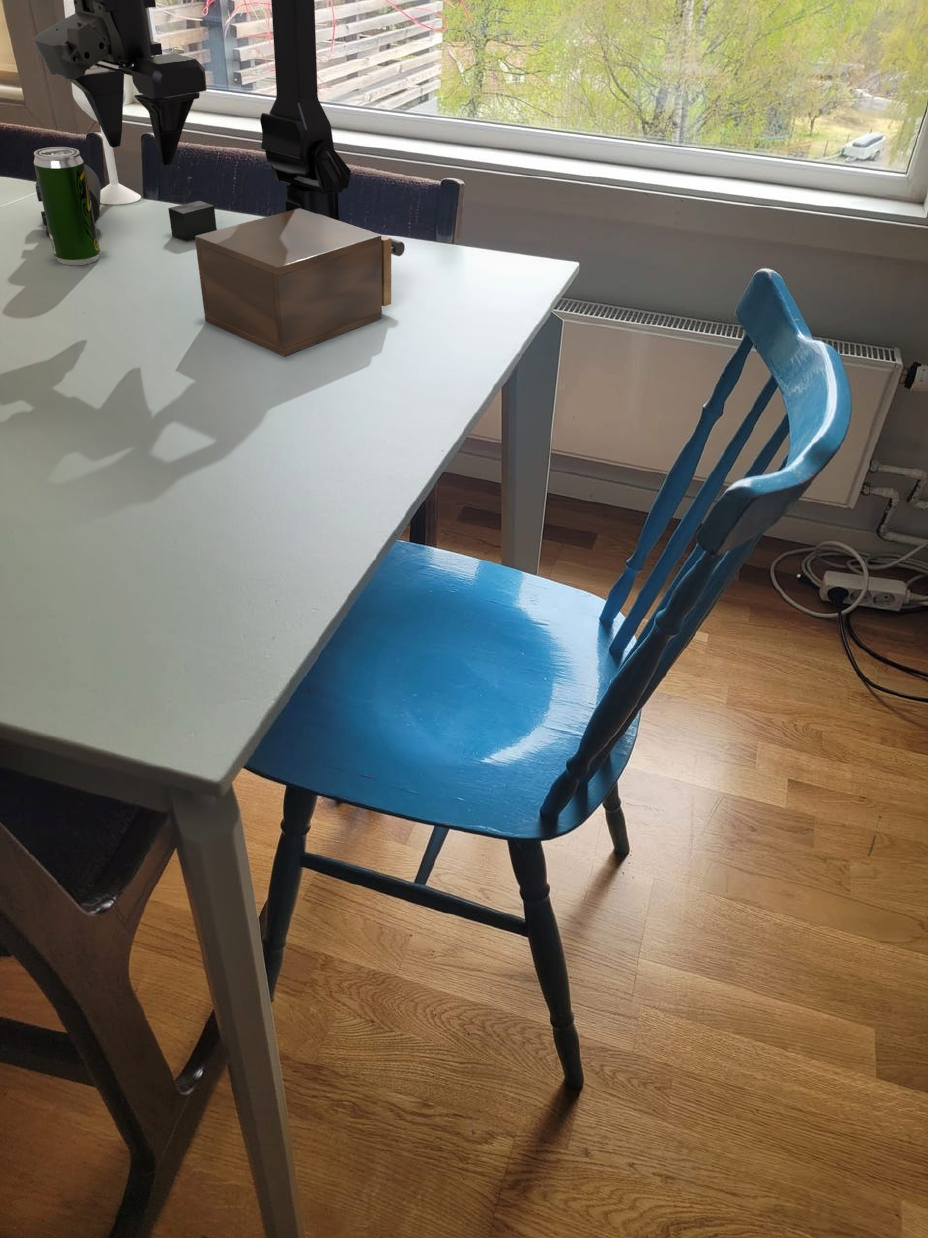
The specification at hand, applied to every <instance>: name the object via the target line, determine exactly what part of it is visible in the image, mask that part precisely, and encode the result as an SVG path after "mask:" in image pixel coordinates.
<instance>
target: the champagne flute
mask: <svg viewBox="0 0 928 1238" xmlns="http://www.w3.org/2000/svg"><path fill="white" fill-rule="evenodd" d="M63 9H64V18H67V17H69V16H71V15H73V14H75V7H74V1H73V0H63ZM71 91H72V97H73V99H74V101H75V103H76V104H77V105H78V107H79V108H80V109H81V110H82V111H83V112H84V113H85V114H86V115H88V116H89V117H90V118H91V119H92V120H94V121H96V122H98V120H97V118H96V116H95V113H94V112H93V109H92V107H91V105H90V104H89V102H88V100H87V98H86V96H85V94H84V93H83V91H82V90H81V89H80V88H78V87H77V86H76V85H74V84H73V83H72V82H71ZM126 96H127V95H126V91H125V89H124V93H123V105H124V104H125V101H126ZM98 123H99V122H98ZM99 128H100V133H101V139H102V140H101V141H102V145H103V146H102V147H103V152H104V157H105V163H106V169H107V175H108V179H109V180H108V181H109V183H108V184H107V185H106V186H105V187H103V188H101V194H100V204H103V205H112V206H115V205H126V204H132V203H135V202H138V201H140V200H141V198H142V195H141V194H139V193H137V192H136V191H134V190H132V189H130V188H128V187H126V186H124V185H123V184H121V183H119V178H118V170H117V165H116V159H115V153H114V148H113V147H111V146H110V145H109V143H108V141H107V139H106V137H105V135H104V133H103V131H102V128H101V126H100V125H99Z"/></svg>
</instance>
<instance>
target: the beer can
mask: <svg viewBox="0 0 928 1238" xmlns="http://www.w3.org/2000/svg"><path fill="white" fill-rule="evenodd" d="M33 155H34V160H33V165H34V170H35V175H36V181H37V180H38V184H39V189H40V194H41V198H42V207H43V211H44V212H45V216H46V221H47V226H48V230H49V235H50V237H49V239H50V244H51V249H52V253H53V256H54V258H55V259H56V260H57V262H58V263H60V264H62V265H66V266H84V265H85V266H86V265H90V264H93V263H95V262H97V261H98V260H99V258H100V256H101V255H100V254H101V247H100V243H99V242H100V241H99V237H98V231H97V227H96V223H95V221H94V215H93V210H92V205H91V199H90V194H89V189H88V183H87V178H86V173H85V167H84V164H85V162H84V159H83V158H82V157H81V153H80V151H79V149H77V148H73V147H67V146H51V147H44V148H43V147H42V148H39V149H37V150H35V151H34V152H33Z"/></svg>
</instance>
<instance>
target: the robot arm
mask: <svg viewBox="0 0 928 1238" xmlns="http://www.w3.org/2000/svg"><path fill="white" fill-rule="evenodd" d="M73 1H74V7H75V14H73V15H71V16H69V17H67V18H65V17H64V18H62V19H60V20H59V21H57V22H55V23H54V24H52V25H51V26H49V27H47V28H46V29H44V30H42V31H41V32H40V33H38V34H36V35H35V36H34V37H33V42H34V44H35V46H36V48H37V50H38V53H39V54H40V56H41V58H42V59H43V61H44V63H45V66H46V68H47V69H48V71H49V73H50V74H51V75H54V76H55V75H60V76H62V78H64V79H65V80H68V81H69V82H71V84H72V83H73V84H74V85H76V86H77V87H78V88H80V89H81V90H82V91H83V93H84V94H85V96H86V98H87V100H88V102H89V104H90V105H91V107H92V109H93V112H94V113H95V116H96V118H97V120H98V125H99V127H100V126H101V128H102V131H103V133H104V135H105V137H106V139H107V141H108V143H109V145H110V146H111V147H113V149H114V148H118V147H120V146H121V144H122V136H123V135H122V134H123V117H124V116H123V113H124V104H123V93H124V90H125V75H127V76H131V79H132V83H133V85H134V87H135V88H136V90H137V92H138V93H139V94H134V98H135V99H136V100H137V102H138V103H139V104H141V105H142V106H143V108H145V109H146V111H147V112H148V115H149V120H150V123H151V124H150V125H151V128H152V129H151V130H152V132H153V138H154V142H155V146H156V150H157V154H158V157H159V160H160V163H161V165H163V166H169V165H172V164H173V163H174V159H175V155H176V152H177V150H178V146H179V143H180V139H181V136H182V132H183V130H184V127H185V123H186V121H187V118H188V117H189V113H190V111H191V110H192V106H193V104H194V101H195V100H198V99H200V93H202V92H207V90H208V87H207V86H208V85H207V77H206V76H207V75H206V68H205V67H204V66H203V64H201V62H199V61H198V60H197V58H194V57H190V56H186V55H182V54H178V53H167V54H163V48H162V43H161V42H158V41H153V40H152V38H153V37H152V32H151V26H150V25H151V24H150V17H149V12H148V11H149V10H148V9H152V8H156V7H157V5H156V0H73ZM315 2H316V1H315V0H270V4H271V5H270V6H271V20H272V36H273V37H272V39H273V40H272V41H273V54H274V68H275V69H274V71H275V72H274V73H275V89H276V90H275V91H276V93H275V94H276V97H275V100H274V101H273V104H272V106H271V108H270V110H269V113H268V112H261V114H260V118H259V119H260V120H259V121H260V127H261V133H262V134H261V135H262V136H261V139H262V140H261V143H260V144H261V145H260V146H261V147H260V148H261V149H262V150H264V153H265V158H266V160H267V162H268V164H269V165H270V166H271V169H272V172H273V174H274V178H275V180H276V182H279V183H284V184H287V185H286V186H285V187H286V199H285V212H287V211H291V210H295V209H299V208H301V209H304V210H307V211H310V212H313V213H316V214H320V215H323V216H326V217H329V218H332V219H335V220H338V221H340V215H339V214H340V213H339V212H340V211H339V193H342V192H343V190H345V189H347V188H349V184H350V179H351V173H352V171H351V169H350V168H349V166H348V165H347V164H346V163H345V161H344V160H343V159H342V157H341V156H340V155H339V153H338V152H337V151H336V150H335V146H334V138H333V131H332V125H331V122H330V120H329V118H328V116H327V114H326V112H325V110H324V108H323V106H322V104H321V102H320V100H319V94H318V68H317V65H318V63H317V61H318V60H317V35H316V34H317V33H316V6H315V5H316V3H315ZM101 128H100V129H101ZM288 184H289V185H288Z"/></svg>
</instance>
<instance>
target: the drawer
mask: <svg viewBox="0 0 928 1238" xmlns="http://www.w3.org/2000/svg"><path fill="white" fill-rule="evenodd" d="M319 215H320V214H319ZM322 216H323V215H322ZM325 217H326V216H325ZM328 218H329V217H328ZM331 219H332V218H331ZM334 220H335V219H334ZM337 221H338V220H337ZM339 221H340V222H343V223H346V224H349V225H352V226H355V225H353V224H350V223H347V222H344V221H341V220H339ZM355 227H357V228H360V229H363V230H366V231H369V232H372V233H375V234H378V235H381V257H382V307H388V306H391V305H392V255H393V256H396V257H401V256H402V255H404V252H405V250H406V246H405V243H404V241H400V240H397V239H395V238H391V237H389V236H385V235H382V234H380V233H377V232H374V231H371V230H368V229H364V228H361V227H359V226H355Z"/></svg>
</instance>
